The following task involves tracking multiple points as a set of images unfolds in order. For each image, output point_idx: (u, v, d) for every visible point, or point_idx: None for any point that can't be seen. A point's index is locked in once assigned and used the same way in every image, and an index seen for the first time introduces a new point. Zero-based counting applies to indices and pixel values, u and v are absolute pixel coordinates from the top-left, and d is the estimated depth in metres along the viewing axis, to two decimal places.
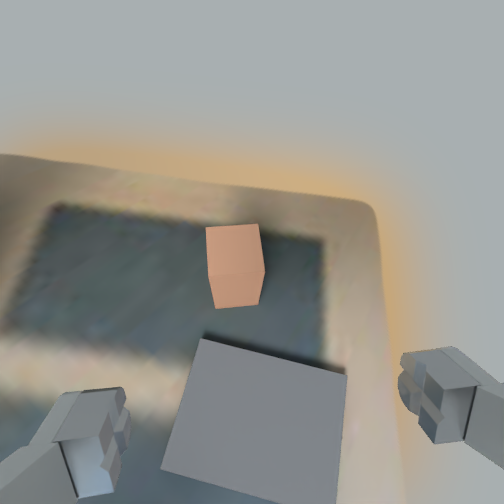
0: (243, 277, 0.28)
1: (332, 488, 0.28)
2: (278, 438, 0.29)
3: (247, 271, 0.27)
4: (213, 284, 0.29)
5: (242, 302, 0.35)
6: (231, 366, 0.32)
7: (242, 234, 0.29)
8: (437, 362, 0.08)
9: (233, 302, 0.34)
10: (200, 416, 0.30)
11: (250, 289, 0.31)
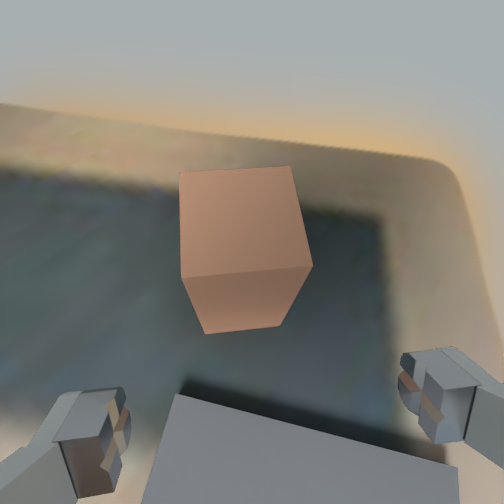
0: (262, 280, 0.13)
1: None
2: None
3: (272, 265, 0.12)
4: (195, 295, 0.13)
5: (253, 324, 0.19)
6: (234, 452, 0.17)
7: (257, 186, 0.13)
8: (437, 362, 0.08)
9: (236, 324, 0.19)
10: None
11: (271, 304, 0.16)
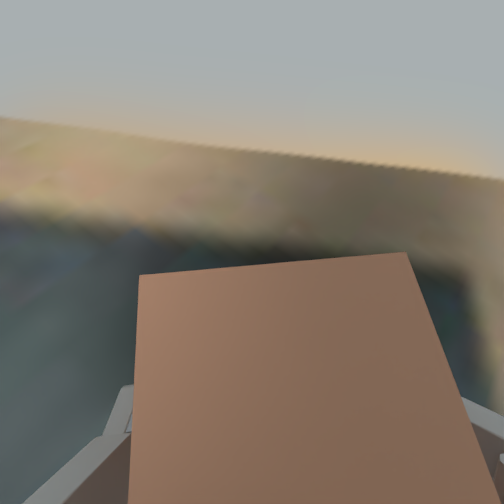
0: None
1: None
2: None
3: None
4: None
5: None
6: None
7: (335, 315, 0.05)
8: None
9: None
10: None
11: None
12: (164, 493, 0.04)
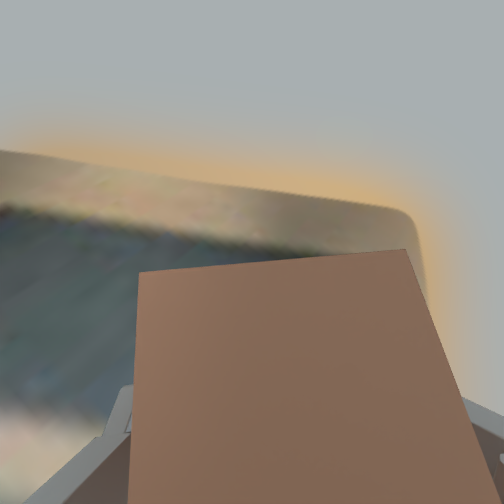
0: None
1: None
2: None
3: None
4: None
5: None
6: None
7: (335, 311, 0.05)
8: None
9: None
10: None
11: None
12: (164, 489, 0.04)
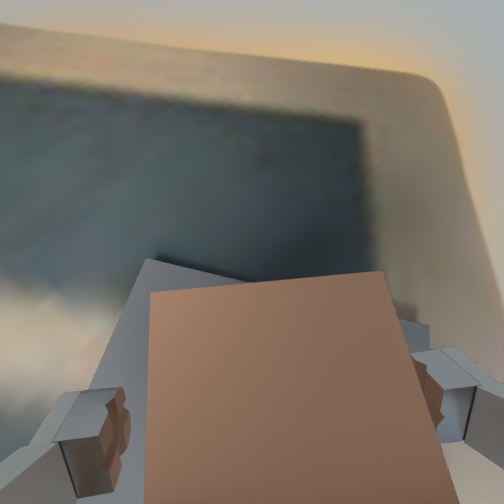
0: None
1: None
2: None
3: None
4: None
5: None
6: None
7: (320, 327, 0.06)
8: (437, 362, 0.08)
9: None
10: (133, 403, 0.14)
11: None
12: (174, 477, 0.05)
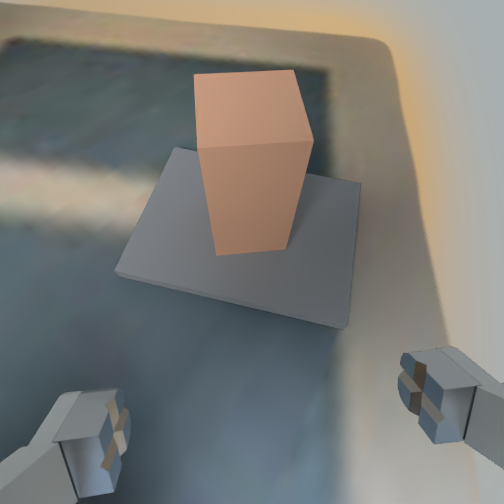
0: (269, 161, 0.14)
1: (344, 294, 0.21)
2: None
3: (277, 139, 0.13)
4: (209, 182, 0.15)
5: (261, 242, 0.21)
6: None
7: (263, 84, 0.15)
8: (437, 362, 0.08)
9: (245, 240, 0.20)
10: (170, 219, 0.23)
11: (277, 205, 0.17)
12: (206, 118, 0.14)
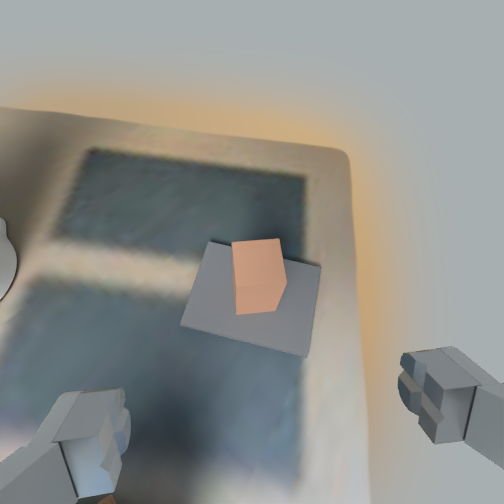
0: (267, 288, 0.31)
1: (307, 338, 0.38)
2: None
3: (271, 282, 0.30)
4: (238, 294, 0.32)
5: (261, 309, 0.38)
6: None
7: (265, 248, 0.32)
8: (437, 362, 0.08)
9: (253, 309, 0.37)
10: (209, 292, 0.40)
11: (270, 298, 0.34)
12: (239, 270, 0.31)
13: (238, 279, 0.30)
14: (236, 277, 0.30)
